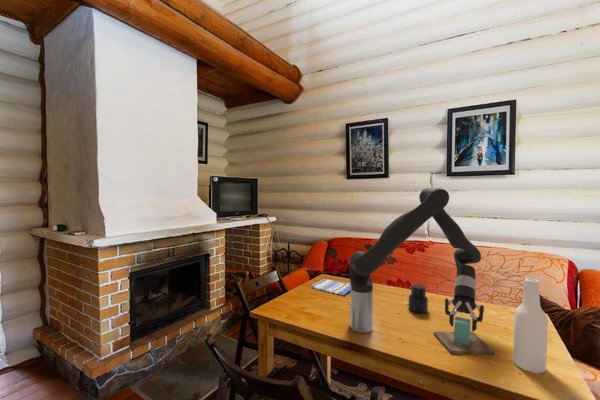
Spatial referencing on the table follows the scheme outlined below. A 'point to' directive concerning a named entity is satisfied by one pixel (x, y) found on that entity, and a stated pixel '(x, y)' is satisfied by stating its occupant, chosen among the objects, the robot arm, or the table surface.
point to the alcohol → (530, 331)
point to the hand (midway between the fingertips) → (462, 328)
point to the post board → (457, 348)
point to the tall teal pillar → (462, 330)
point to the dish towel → (333, 287)
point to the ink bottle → (418, 299)
